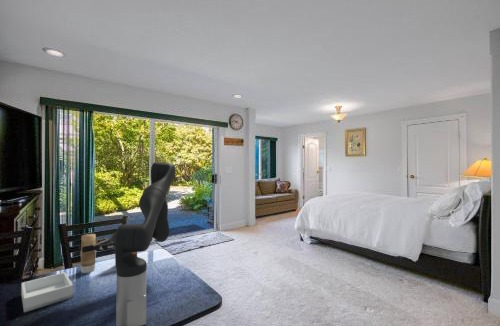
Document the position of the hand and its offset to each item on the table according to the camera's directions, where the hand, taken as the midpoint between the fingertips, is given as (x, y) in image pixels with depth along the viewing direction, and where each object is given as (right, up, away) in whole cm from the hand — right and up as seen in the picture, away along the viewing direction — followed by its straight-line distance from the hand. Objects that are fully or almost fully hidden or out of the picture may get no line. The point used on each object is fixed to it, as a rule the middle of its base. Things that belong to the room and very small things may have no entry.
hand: (80, 248), depth 99 cm
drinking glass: (-14, -21, +25) cm, 35 cm away
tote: (-14, -20, +1) cm, 25 cm away
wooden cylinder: (+2, -7, +2) cm, 8 cm away
